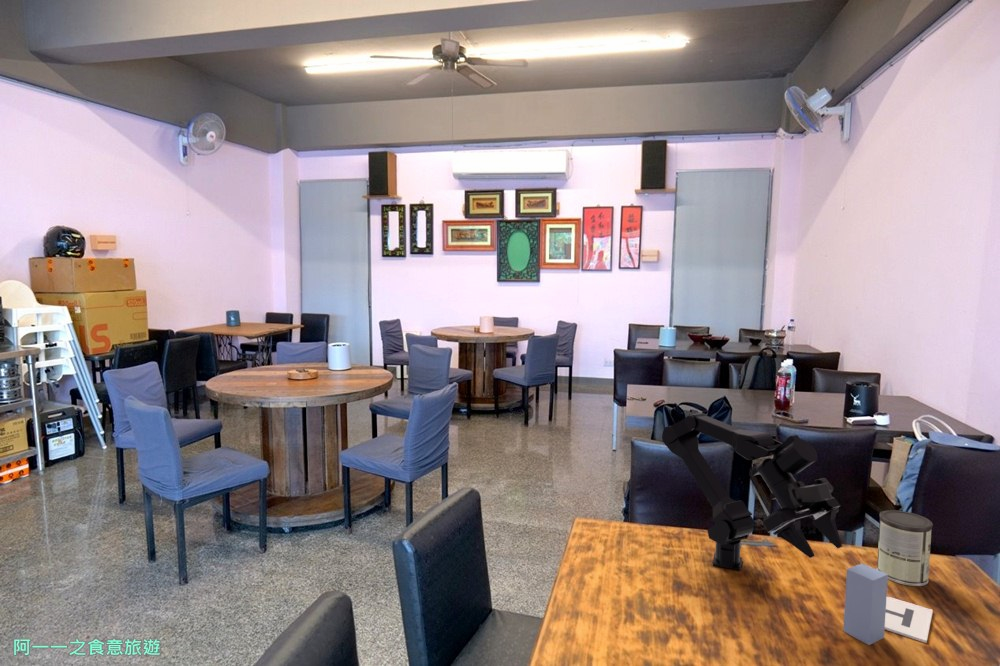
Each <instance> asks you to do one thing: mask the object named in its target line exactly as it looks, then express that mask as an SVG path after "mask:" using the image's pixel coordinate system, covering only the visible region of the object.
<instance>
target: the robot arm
mask: <svg viewBox="0 0 1000 666" xmlns="http://www.w3.org/2000/svg"><path fill="white" fill-rule="evenodd" d="M701 434H703V435H705V436H708V437H709V438H710V437H711V438H712V439H715V440H717V441H720V442H722V443H725V444H727V445H728V446H731V448H733V450H734V452H735V453H737V454H738V455H739V456H741V457H743V458H744V459H745V460H748V461H755V460H760V459H764V460H762V461H761V462H755V463H752V468H751V472H750V475H751V476H752V477H754V476H757V475H760V476H761V477H762V480H763V481H764V482H765V483H766V485H767V487H768V488H769V491H770V492H771V494H770V495H769V497H770V500H771V501H773V500H776V502H777V503H778V505H779V506H780V508H779V509H776V510H775V511H773V512H772V513H770V514H768V515H767V516H765V517H764V518H763V523H762V525H763V527H764V528H765V530H766V532H767V533H772V532H773V533H772V534H773V536H778V537H779V538H781V539H782V540H784V541H786V542H787V543H789V544H791V545H792V546H793V547H795V548H796V549H797V550H798V551H800V552H801V553H802V554H804V555H806V556H807V557H808V558H810V559H812V558H814V557H815V553H814V551H813V549H812V547H811V546H810V545H811V544H810V543H809V541H807V538H806V536H805V535H804V533H803V531H802V529H801V519H803V518H806V517H808V518H810V519H811V520H812V521H811V523H812V524H813V526H814V527H816V529H818V531H820V532H821V534H822V535H823V536H824V537H825V539H827V540H828V541H829V542H830V543H831V544H832V545H833V546H834V547H835V548H836V549H840V548H842V547H843V544H842V540H841V537H840V534H839V531H838V528H837V523H836V516H837V513H838V512H839V507H841V504H840V503H839V502H838V500H837V499H836V497H834V496H832V493H833V491H834V489H835V488H834V486H833V485H832V484H831V482H829V480H828V479H827V478H826V477H822V478H818V479H815V480H814V484H811V485H810V484H809V485H806V484H805V483H804V482H803V481H802V480H798V481H797V480H796V479H795V478H794V476H793V475H798V474H799V473H801V472H802V471H803V470H805V469H806V468H807V467H809V466H811V465H812V464H813V463H815V462H817V461H818V453H817V451H816V448H814V446H813V445H811V444H810V443H809V442H807V441H806V440H804V439H802V438H800V436H798V434H792V435H790V436H788V437H787V438H786V440H785V441H784V442H782V441H779V440H776V439H774V438H773V436H772V435H771V434H770V433H768V432H763V431H758V430H750V429H747V430H746V429H740V428H738V427H736V426H734V425H731V424H728V423H726V422H724V421H721V420H718V419H715V418H714V417H711V416H708V415H707V414H705V413H703V412H698V413H691V414H689V415H688V416H686V417H684V418H683V419H681V420H679V421H677V422H676V423H674V424H672V425H669V426H665V427H664V428H663V430H662V434H661V439H662V442H663V444H664V445H665V446H666V448H667V450H669V451H670V453H672V454H673V455H675V456H676V457H679V458H680V459H681V460H682V461H683V463H684V464H685V467H687V470H689V471H688V472H690V474H691V475H692V477H693V478H694V480H695V482H696V483H697V485H698V487H699V488H700V490H701V491H702V493H703V495H704V496H705V497H706V499H707V501H708V502H709V504H710V506H711V507H712V520H713V522H714V525H712V526H711V527H709V528H707V529H706V531H707V535H708V539H710V540H712V541H713V542H715V551H714V555H713V558H712V562H711V563H712V564H711V565H713V566H715V567H716V566H717V567H721V568H725V569H731V570H736V571H741V570H742V563H743V558H742V557H741V543H742V542H741V541H742V540H748V538H749V536H750V534H752V533H753V531H754V524H755V521H754V518H753V517H752V515H753V513H752V512H751V511H750V510H749V509H748V507H747V506H746V504H745V502H744V501H743V500H742V499H741V500H737V501H736V500H735V499H733V498H731V497H730V496H729V494H728V492H727V491H726V489H725V487H724V486H723V484H722V483H721V482H720V480H719V479H718V477H717V475H715V472H714V471H713V470H712V468H711V467H710V465H709V464H708V462H707V460H706V459H705V457H704V456H703V454H702V453H701V451H700V449H699V448H700V447H699V439H698V436H700V435H701ZM772 456H773V458H770V457H772Z"/></svg>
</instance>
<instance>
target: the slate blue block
mask: <svg viewBox="0 0 1000 666" xmlns="http://www.w3.org/2000/svg"><path fill="white" fill-rule="evenodd" d="M845 580H846V582H845V594H844V595H845V598H844V599H845V600H844V613H843V627H842V628H843V630H842V632H844V633H846V634H847V635H850V636H851V637H853V638H855V639H857V640H859V641H860V642H863V643H864V644H866V645H868V646H871V645H873V644H874V643H877V642H878V641H880V640H882V639H885V613H886V598H887V594H888V583H889V582H888V580H889V579H888V574H886V573H884V572H881V571H879V570H877V568H874V567H871V566H869V565H867V564H865V563H862V562H861V563H858V564H857V565H853V566H852V567H849V568H847V569H846V579H845Z"/></svg>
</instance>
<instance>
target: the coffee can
mask: <svg viewBox="0 0 1000 666" xmlns="http://www.w3.org/2000/svg"><path fill="white" fill-rule="evenodd" d="M933 526H934V523H933V522H932V520H930V519H928V518H927V517H925V516H922V515H919V514H917V513H914V512H910V511H903V510H897V509H893V510H892V509H891V510H890V509H888V510H882V511H880V512H879V529H878V547H877V560H876V561H877V562H876V563H877V564H876V570H879V571H881V572H884V573H886V574H888V580H889V581H891V582H894V583H896V584H899V585H904V586H910V587H923V586H927V585H928V583H929V574H930V573H929V571H930V558H931V556H930V555H931V545H932V544H931V542H932V540H931V539H932V529H933Z"/></svg>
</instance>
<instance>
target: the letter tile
mask: <svg viewBox="0 0 1000 666" xmlns="http://www.w3.org/2000/svg"><path fill="white" fill-rule="evenodd" d="M933 612H934V610H933V609H930V608H927V607H926V606H925V607H924V606H922V605H917V604H914V603H911V602H908V601H904V600H901V599H898V598H896V597H895V598H894V597H891V596H887V598H886V613H885V629H884V631H885V630H886V631H889V632H892V633H894V634H897V635H900V636H904V637H906V638H910V639H913V640H916V641H919V642H921V643H923V644H924V643H925V644H927V643H928V642H927V641H928V637H929V634H930V633H929V632H930V627H931V624H932V623H931V622H932V618H933Z"/></svg>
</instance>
